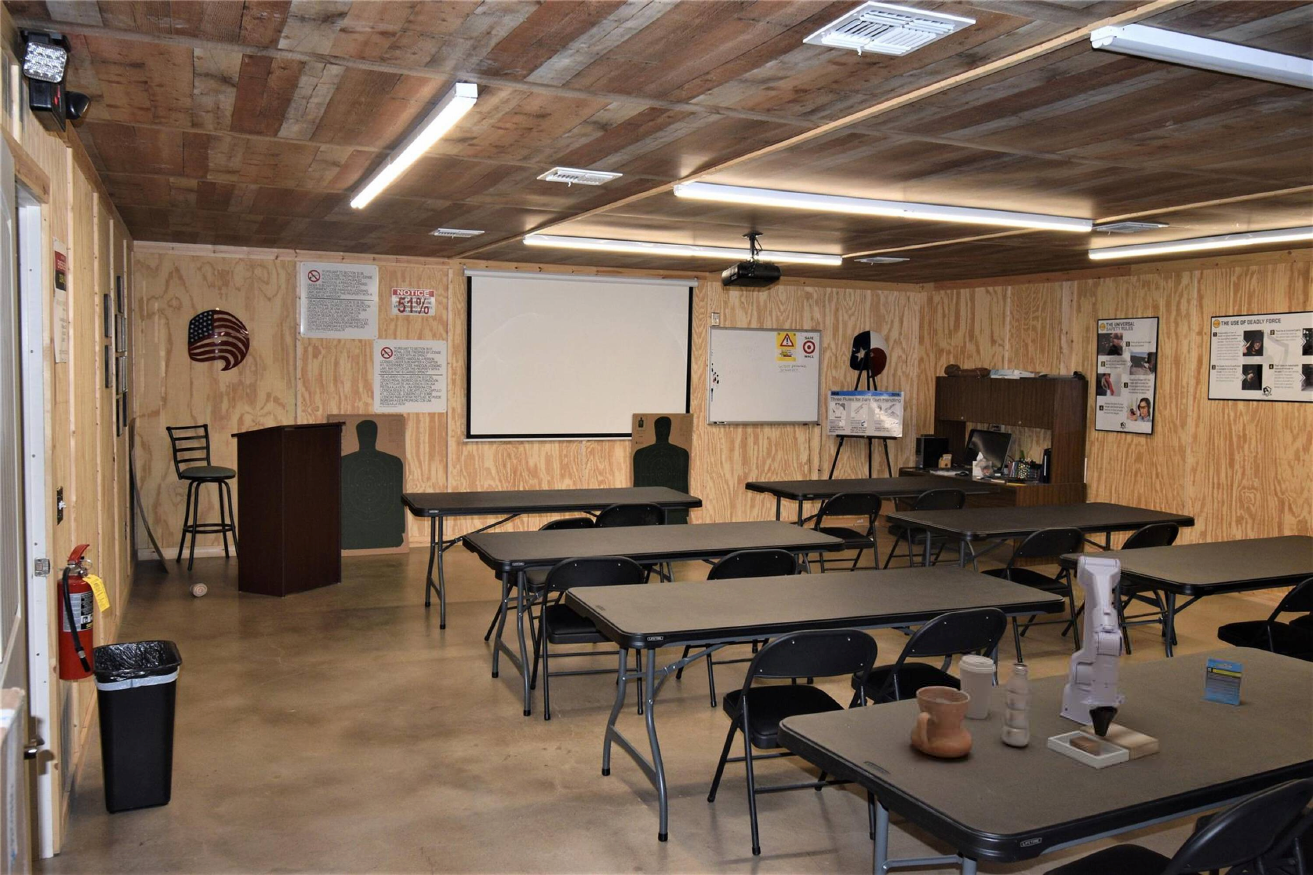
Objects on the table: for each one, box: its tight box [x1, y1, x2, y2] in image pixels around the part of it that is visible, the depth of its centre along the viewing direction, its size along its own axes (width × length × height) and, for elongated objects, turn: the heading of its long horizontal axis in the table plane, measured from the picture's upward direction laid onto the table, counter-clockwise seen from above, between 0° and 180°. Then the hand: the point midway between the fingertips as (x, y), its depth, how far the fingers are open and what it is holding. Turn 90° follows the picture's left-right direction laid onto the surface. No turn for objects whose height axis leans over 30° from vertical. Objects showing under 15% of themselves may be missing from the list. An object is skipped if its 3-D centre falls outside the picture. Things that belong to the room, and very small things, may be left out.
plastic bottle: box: [1001, 662, 1033, 747], centre depth 244 cm, size 6×7×20 cm
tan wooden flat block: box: [1079, 722, 1160, 761], centre depth 246 cm, size 14×11×3 cm
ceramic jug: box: [909, 685, 974, 759], centre depth 238 cm, size 18×14×14 cm
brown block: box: [1069, 736, 1101, 756], centre depth 240 cm, size 5×5×3 cm
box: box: [1046, 730, 1129, 770], centre depth 240 cm, size 14×12×2 cm
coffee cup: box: [958, 654, 997, 720], centre depth 264 cm, size 10×10×15 cm
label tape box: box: [1203, 657, 1243, 706], centre depth 283 cm, size 9×4×12 cm, turn 58°
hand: (1100, 735), depth 242 cm, fingers closed
